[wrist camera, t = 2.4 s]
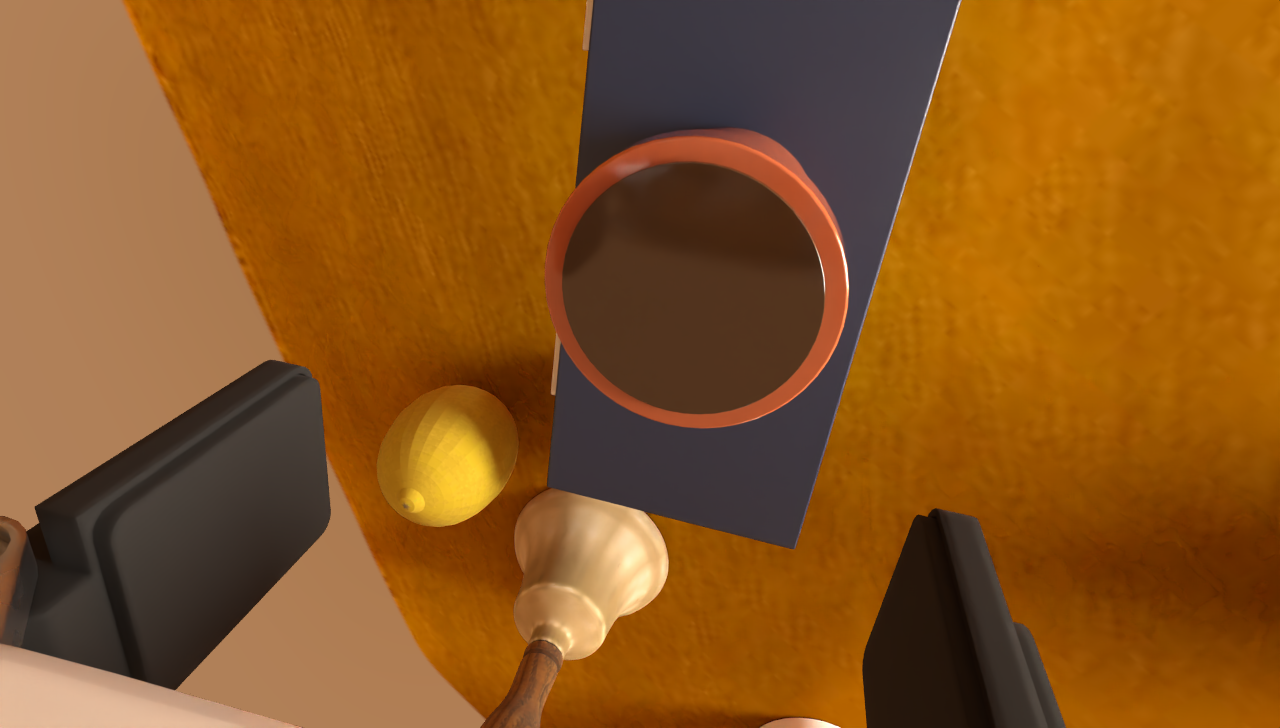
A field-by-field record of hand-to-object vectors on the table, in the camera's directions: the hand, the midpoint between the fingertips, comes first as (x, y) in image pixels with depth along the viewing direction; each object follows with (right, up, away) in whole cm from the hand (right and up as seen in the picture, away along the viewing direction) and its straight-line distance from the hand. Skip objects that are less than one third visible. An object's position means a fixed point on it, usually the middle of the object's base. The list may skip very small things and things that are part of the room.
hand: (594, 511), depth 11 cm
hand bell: (-2, -7, +27) cm, 28 cm away
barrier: (+5, +9, +17) cm, 20 cm away
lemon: (-7, 0, +24) cm, 25 cm away
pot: (+3, +7, +12) cm, 14 cm away
